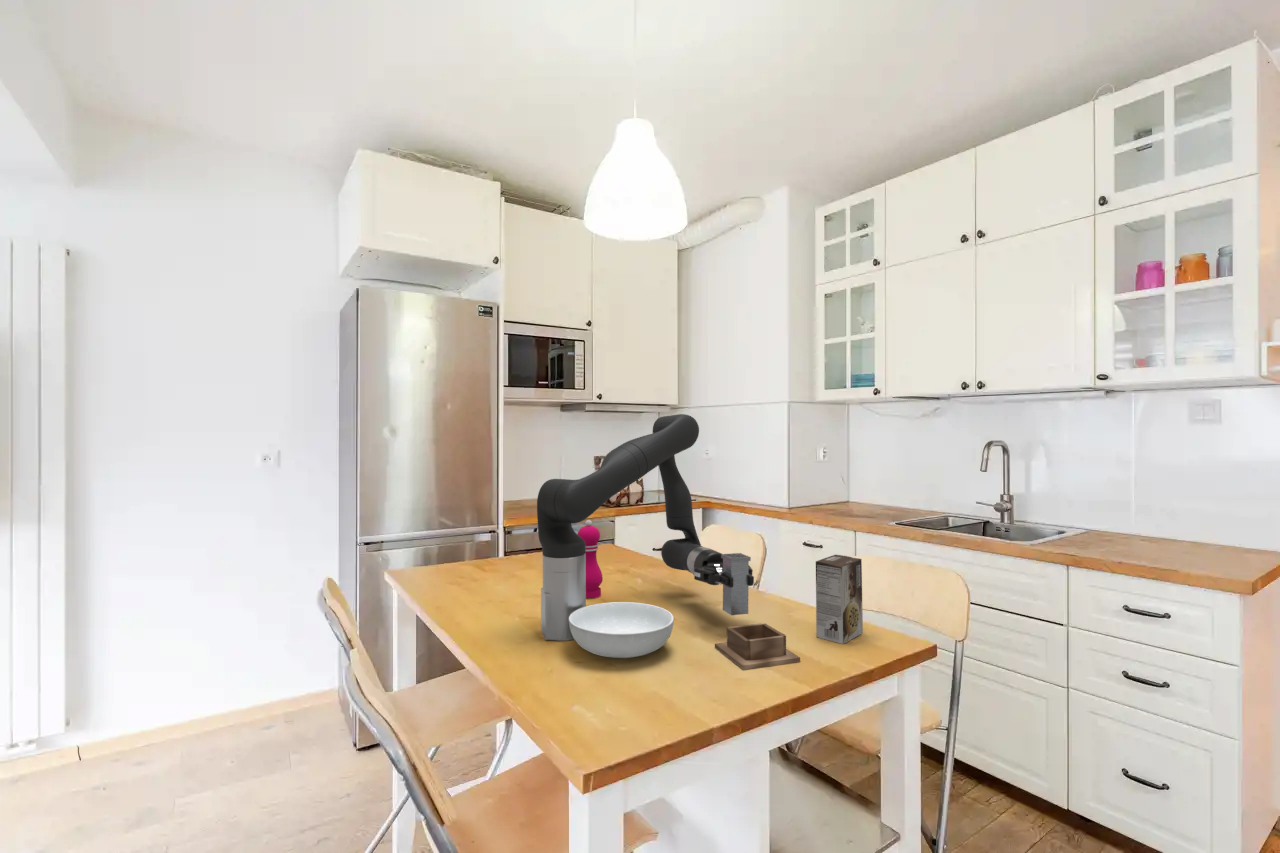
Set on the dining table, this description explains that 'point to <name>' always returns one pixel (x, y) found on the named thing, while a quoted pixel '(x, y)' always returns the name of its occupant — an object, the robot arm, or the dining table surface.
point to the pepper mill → (591, 559)
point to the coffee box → (839, 598)
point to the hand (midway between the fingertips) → (741, 581)
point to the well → (756, 647)
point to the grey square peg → (736, 583)
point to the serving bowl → (621, 628)
